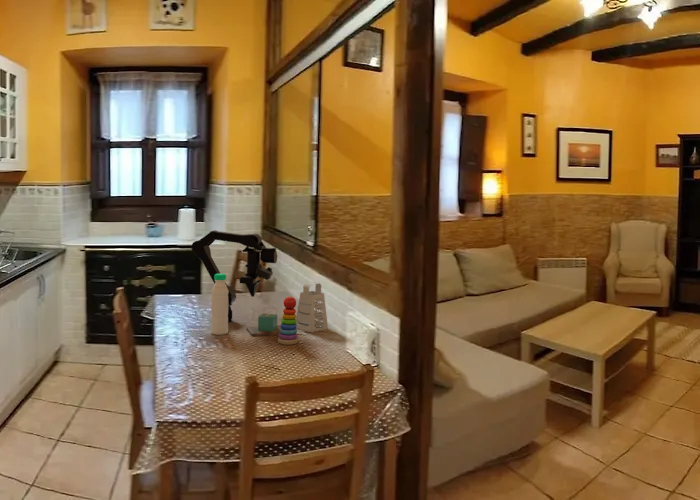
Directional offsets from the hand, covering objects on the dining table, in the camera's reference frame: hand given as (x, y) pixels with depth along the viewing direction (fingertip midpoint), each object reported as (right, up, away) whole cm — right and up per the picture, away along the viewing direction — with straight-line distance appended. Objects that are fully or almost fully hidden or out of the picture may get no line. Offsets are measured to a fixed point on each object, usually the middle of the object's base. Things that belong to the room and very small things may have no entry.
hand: (252, 296), depth 280 cm
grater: (+27, -14, -5) cm, 30 cm away
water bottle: (-11, -14, -19) cm, 26 cm away
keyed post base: (+9, -14, -14) cm, 22 cm away
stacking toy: (+19, -16, -30) cm, 39 cm away
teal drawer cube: (+9, -13, -14) cm, 21 cm away
